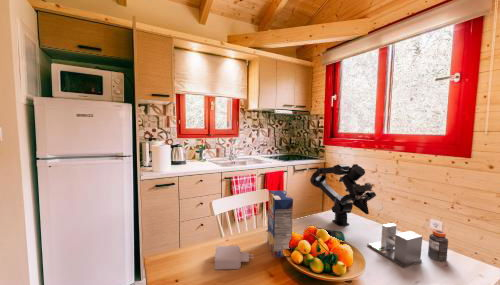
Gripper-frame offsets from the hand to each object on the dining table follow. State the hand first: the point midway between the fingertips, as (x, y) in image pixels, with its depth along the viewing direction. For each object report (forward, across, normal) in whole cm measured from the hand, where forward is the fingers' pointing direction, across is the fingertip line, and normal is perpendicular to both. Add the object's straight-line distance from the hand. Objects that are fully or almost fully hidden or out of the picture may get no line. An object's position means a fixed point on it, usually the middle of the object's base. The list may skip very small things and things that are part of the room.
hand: (367, 214), depth 104 cm
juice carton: (+4, -45, +13) cm, 47 cm away
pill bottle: (+24, +15, -7) cm, 29 cm away
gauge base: (+18, 0, -1) cm, 18 cm away
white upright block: (+16, -1, -2) cm, 16 cm away
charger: (+6, -66, +11) cm, 67 cm away
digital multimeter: (+4, -17, +14) cm, 22 cm away
